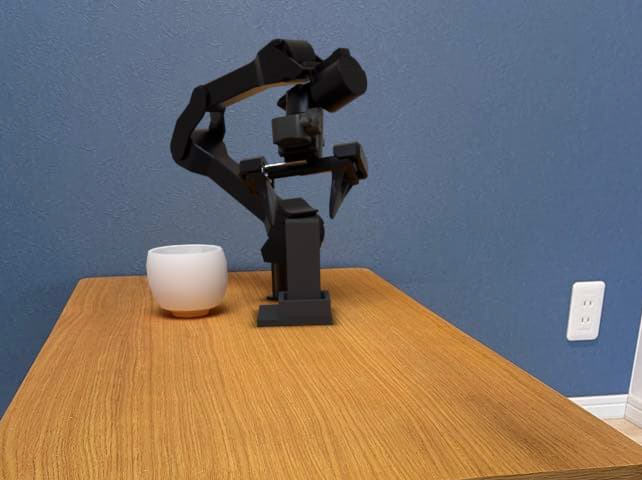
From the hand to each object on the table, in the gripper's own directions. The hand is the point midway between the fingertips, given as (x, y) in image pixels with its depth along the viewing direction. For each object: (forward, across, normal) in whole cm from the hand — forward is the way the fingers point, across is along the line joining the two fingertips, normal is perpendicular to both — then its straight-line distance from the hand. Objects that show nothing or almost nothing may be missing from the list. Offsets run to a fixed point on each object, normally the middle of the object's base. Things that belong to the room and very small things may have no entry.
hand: (301, 221), depth 125 cm
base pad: (+12, -2, +6) cm, 14 cm away
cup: (+10, -19, +5) cm, 23 cm away
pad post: (+12, 0, +5) cm, 13 cm away
